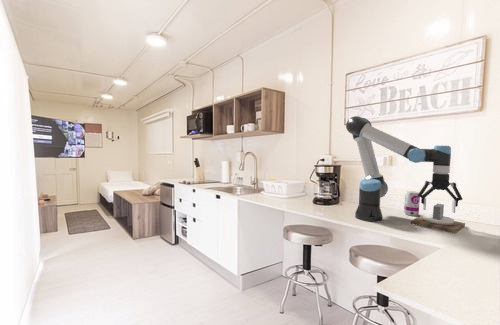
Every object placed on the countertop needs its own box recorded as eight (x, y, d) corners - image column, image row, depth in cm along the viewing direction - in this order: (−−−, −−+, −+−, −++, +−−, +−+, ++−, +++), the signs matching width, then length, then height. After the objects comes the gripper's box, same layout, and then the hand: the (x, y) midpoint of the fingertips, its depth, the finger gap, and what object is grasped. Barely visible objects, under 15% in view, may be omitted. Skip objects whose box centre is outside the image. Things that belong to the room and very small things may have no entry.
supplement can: (421, 216, 160) (423, 193, 159) (408, 216, 160) (410, 192, 159) (413, 213, 168) (414, 190, 167) (401, 212, 168) (402, 190, 168)
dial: (451, 226, 132) (452, 209, 131) (420, 220, 142) (421, 204, 141) (455, 221, 141) (456, 205, 141) (425, 216, 151) (426, 201, 151)
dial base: (410, 223, 143) (411, 220, 143) (423, 218, 156) (423, 214, 155) (455, 233, 128) (455, 229, 127) (464, 226, 140) (465, 222, 140)
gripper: (466, 173, 139) (463, 211, 140) (413, 171, 148) (411, 207, 149) (471, 175, 132) (469, 215, 133) (416, 172, 141) (414, 209, 142)
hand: (438, 210), depth 141 cm, fingers open, 13 cm apart
